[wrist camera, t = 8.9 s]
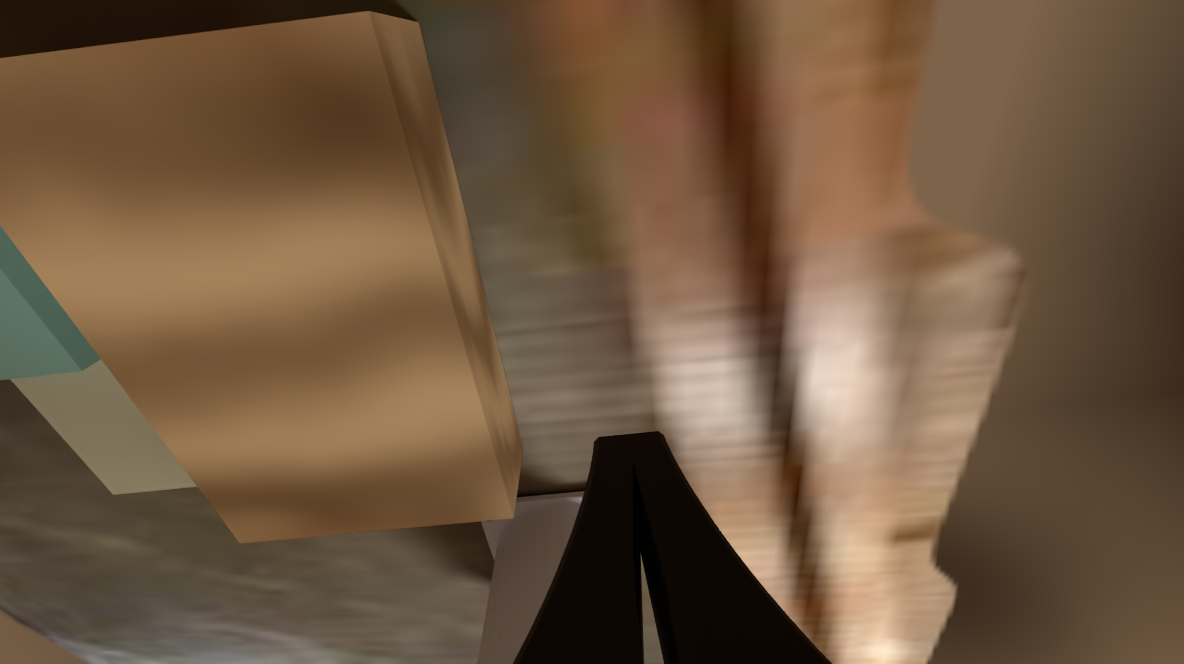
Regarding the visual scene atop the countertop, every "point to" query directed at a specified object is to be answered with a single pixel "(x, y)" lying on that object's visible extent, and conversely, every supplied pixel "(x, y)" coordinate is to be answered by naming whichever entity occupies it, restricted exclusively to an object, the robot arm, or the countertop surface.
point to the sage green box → (35, 323)
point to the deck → (271, 267)
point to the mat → (105, 429)
